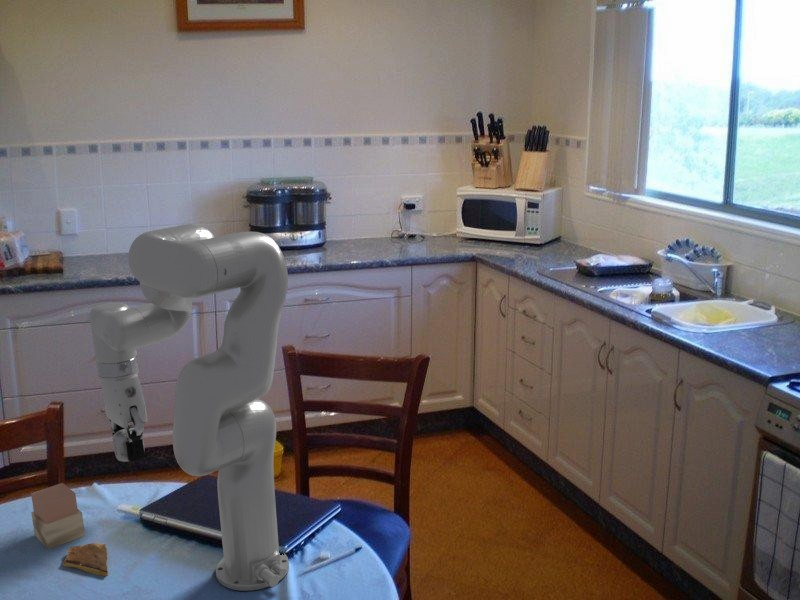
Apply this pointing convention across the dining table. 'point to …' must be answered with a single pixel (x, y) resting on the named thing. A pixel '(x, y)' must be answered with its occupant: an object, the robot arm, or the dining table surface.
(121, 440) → the die
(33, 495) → the tower top
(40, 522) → the tower base
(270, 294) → the robot arm
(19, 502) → the dining table surface
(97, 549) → the shard
